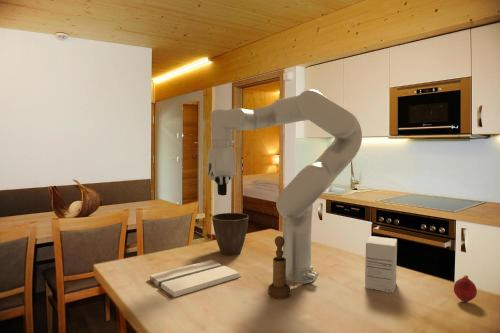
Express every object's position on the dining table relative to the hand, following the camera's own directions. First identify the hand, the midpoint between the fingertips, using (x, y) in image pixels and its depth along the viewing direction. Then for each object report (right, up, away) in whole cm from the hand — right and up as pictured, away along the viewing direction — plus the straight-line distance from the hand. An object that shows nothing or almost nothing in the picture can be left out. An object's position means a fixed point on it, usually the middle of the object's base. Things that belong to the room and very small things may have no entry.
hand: (222, 194), depth 131 cm
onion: (+72, -29, -26) cm, 83 cm away
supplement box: (+52, -29, -14) cm, 61 cm away
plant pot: (+2, -26, +17) cm, 31 cm away
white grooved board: (-8, -28, -12) cm, 31 cm away
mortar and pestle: (+19, -29, -21) cm, 41 cm away
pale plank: (-5, -27, -15) cm, 31 cm away
